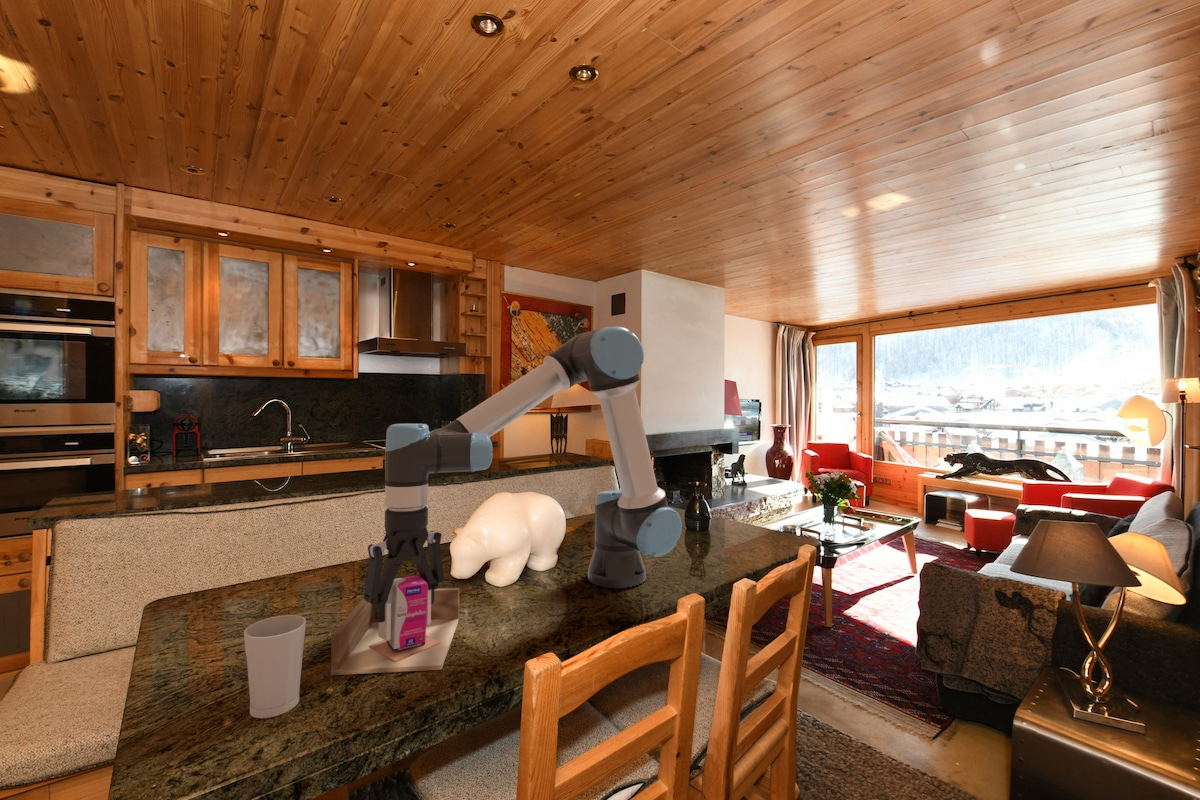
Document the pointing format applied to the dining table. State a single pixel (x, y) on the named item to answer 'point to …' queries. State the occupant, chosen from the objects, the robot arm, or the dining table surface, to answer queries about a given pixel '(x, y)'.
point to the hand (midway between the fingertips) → (405, 629)
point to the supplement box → (408, 612)
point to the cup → (274, 664)
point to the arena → (368, 653)
